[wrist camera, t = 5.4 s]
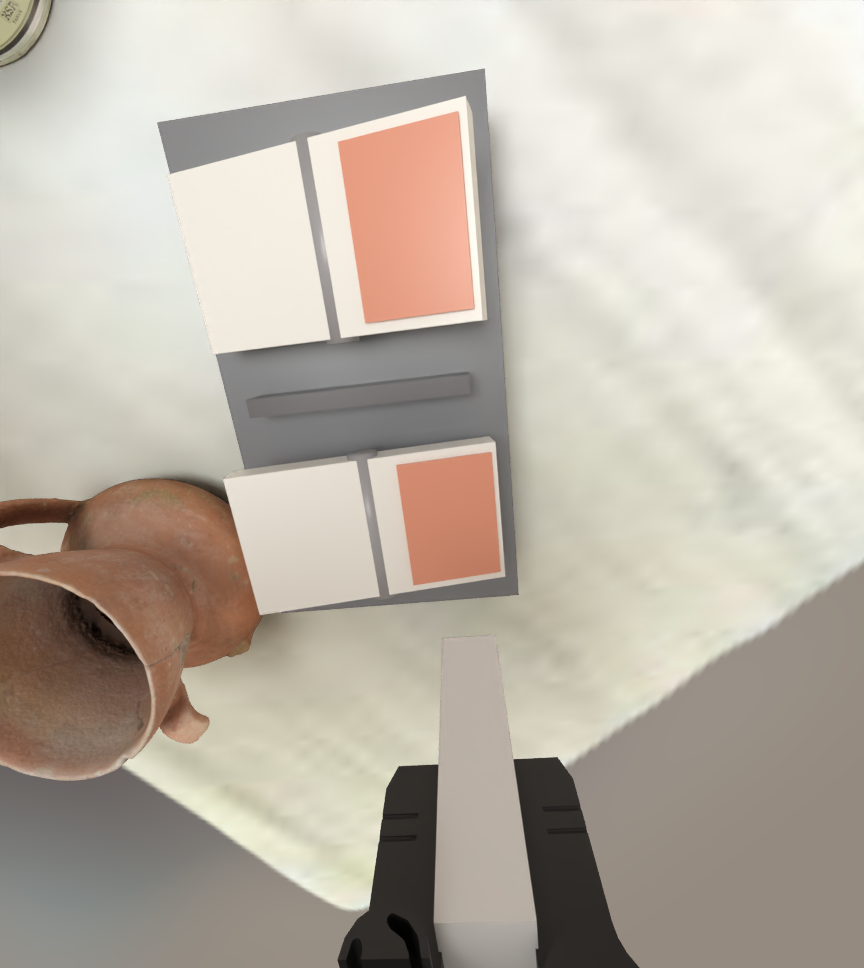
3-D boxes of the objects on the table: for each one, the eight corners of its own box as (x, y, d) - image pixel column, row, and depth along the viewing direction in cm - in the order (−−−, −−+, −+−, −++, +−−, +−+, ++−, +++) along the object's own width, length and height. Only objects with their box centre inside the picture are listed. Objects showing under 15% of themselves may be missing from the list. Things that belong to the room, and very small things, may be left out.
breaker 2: (267, 603, 27) (259, 620, 25) (231, 467, 24) (220, 476, 23) (499, 567, 28) (506, 581, 26) (488, 432, 25) (496, 439, 23)
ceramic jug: (331, 582, 36) (256, 728, 22) (209, 675, 39) (78, 852, 25) (159, 403, 32) (-56, 445, 19) (40, 521, 35) (-219, 631, 22)
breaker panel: (304, 575, 36) (270, 631, 29) (209, 159, 27) (129, 102, 20) (509, 558, 34) (523, 612, 28) (478, 117, 26) (488, 42, 19)
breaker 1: (232, 356, 25) (210, 358, 23) (190, 179, 22) (161, 168, 21) (487, 324, 21) (482, 325, 19) (472, 107, 18) (463, 86, 17)
